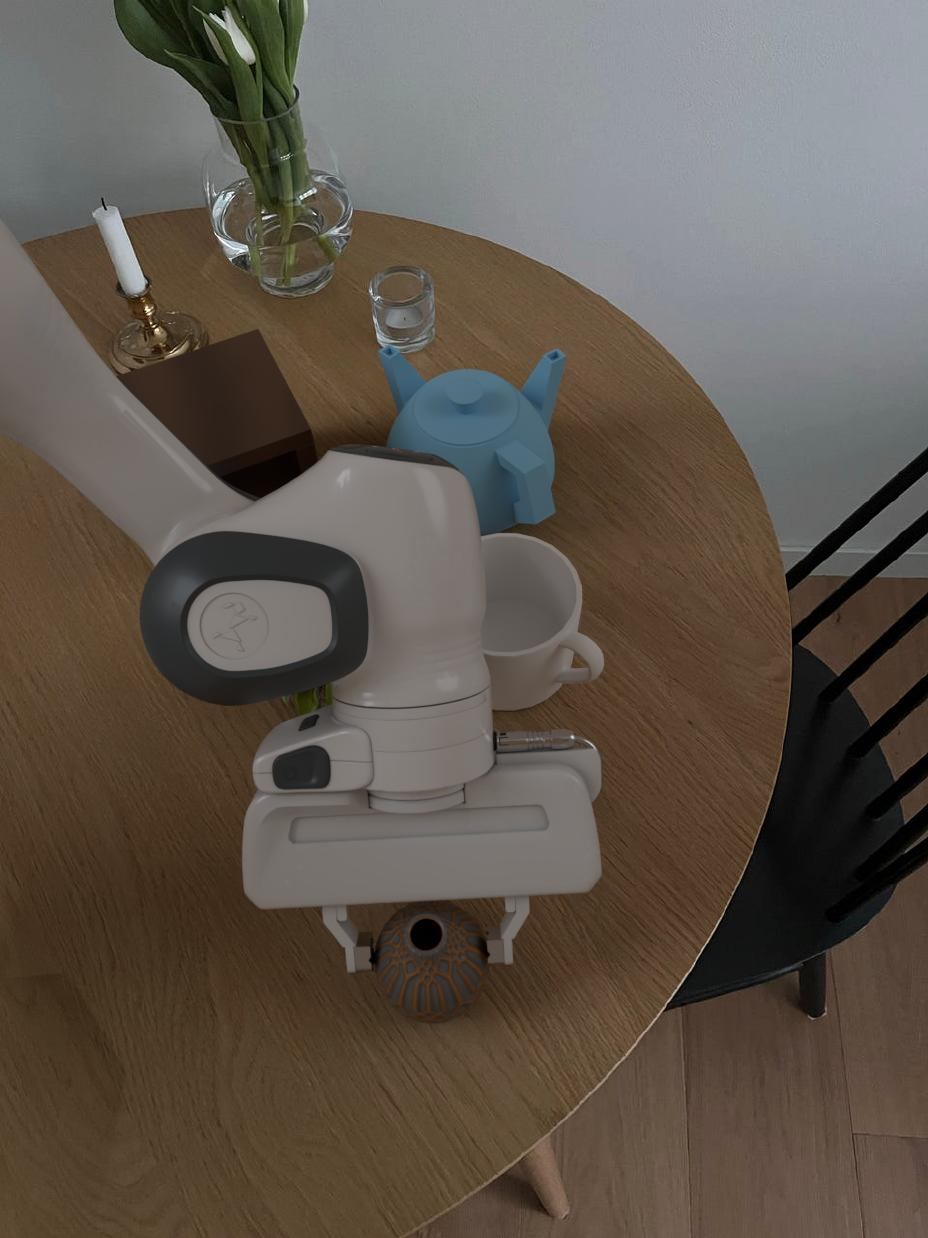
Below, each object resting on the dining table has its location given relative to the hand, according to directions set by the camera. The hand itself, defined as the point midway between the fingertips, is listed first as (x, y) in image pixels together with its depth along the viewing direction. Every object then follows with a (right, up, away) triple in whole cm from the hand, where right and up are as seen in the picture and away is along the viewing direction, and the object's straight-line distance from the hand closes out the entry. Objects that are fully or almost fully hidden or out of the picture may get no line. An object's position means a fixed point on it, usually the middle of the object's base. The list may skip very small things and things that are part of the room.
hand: (430, 964), depth 62 cm
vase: (0, -2, +5) cm, 5 cm away
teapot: (+2, +31, +27) cm, 42 cm away
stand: (-16, +29, +26) cm, 43 cm away
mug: (+6, +17, +17) cm, 25 cm away
